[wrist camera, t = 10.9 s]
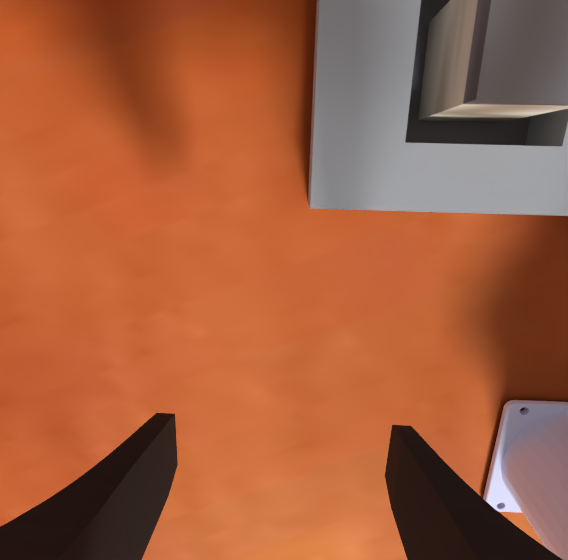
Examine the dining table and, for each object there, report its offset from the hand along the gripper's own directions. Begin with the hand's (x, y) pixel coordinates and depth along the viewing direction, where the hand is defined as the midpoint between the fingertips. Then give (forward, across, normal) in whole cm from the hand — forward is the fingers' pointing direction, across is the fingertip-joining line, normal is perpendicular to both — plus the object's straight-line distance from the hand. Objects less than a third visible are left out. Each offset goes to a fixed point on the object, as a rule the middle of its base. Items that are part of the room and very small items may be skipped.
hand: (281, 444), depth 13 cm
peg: (+9, -8, -13) cm, 18 cm away
